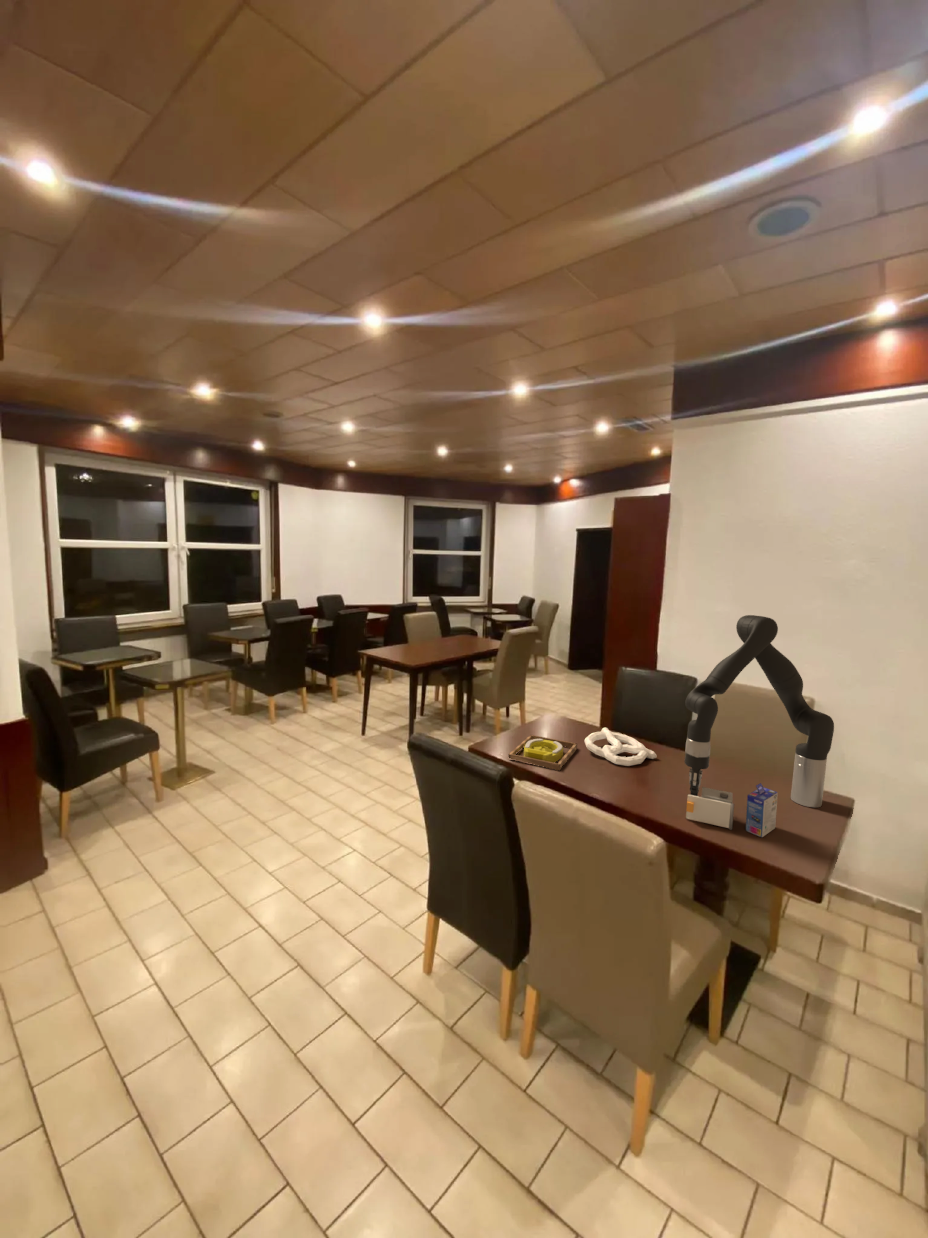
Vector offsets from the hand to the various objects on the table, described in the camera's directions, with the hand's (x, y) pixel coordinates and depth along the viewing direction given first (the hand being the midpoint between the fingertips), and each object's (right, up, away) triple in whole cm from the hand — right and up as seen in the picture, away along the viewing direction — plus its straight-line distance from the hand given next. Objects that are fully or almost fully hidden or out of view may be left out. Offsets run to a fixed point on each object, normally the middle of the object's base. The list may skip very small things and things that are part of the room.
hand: (693, 800), depth 173 cm
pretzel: (-11, +2, +50) cm, 51 cm away
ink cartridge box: (+16, -6, -11) cm, 20 cm away
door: (+1, -5, -9) cm, 10 cm away
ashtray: (-44, +2, +47) cm, 64 cm away
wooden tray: (-43, +3, +48) cm, 65 cm away
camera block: (+5, -4, -5) cm, 8 cm away
